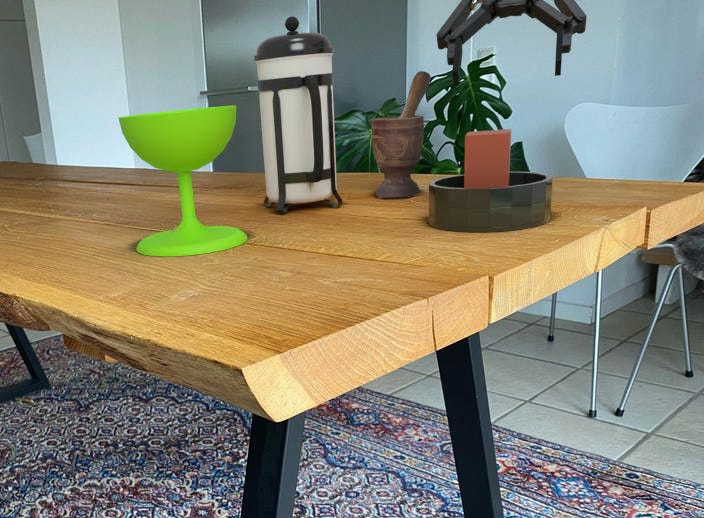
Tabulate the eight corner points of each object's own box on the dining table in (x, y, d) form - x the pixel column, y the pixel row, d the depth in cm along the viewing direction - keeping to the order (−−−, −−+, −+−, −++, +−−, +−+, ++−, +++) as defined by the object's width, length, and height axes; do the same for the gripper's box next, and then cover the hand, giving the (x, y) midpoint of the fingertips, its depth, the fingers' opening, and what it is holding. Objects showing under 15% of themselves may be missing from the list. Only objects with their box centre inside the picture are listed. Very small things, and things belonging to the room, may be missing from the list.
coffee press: (237, 214, 125) (221, 22, 115) (291, 198, 137) (281, 22, 126) (323, 218, 115) (313, 6, 104) (374, 200, 126) (370, 7, 115)
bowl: (544, 208, 105) (546, 168, 103) (554, 230, 91) (557, 185, 89) (432, 213, 110) (432, 175, 108) (426, 234, 96) (425, 191, 94)
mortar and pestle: (390, 189, 136) (389, 74, 130) (436, 188, 132) (437, 69, 125) (365, 199, 128) (362, 76, 121) (413, 199, 123) (413, 71, 116)
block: (508, 211, 102) (511, 128, 98) (506, 218, 97) (510, 132, 94) (466, 212, 104) (468, 131, 101) (463, 219, 100) (464, 135, 96)
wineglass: (242, 228, 113) (231, 104, 107) (253, 248, 98) (241, 106, 92) (138, 239, 112) (121, 115, 106) (133, 261, 97) (114, 119, 91)
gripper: (603, -26, 110) (601, 84, 103) (432, -1, 120) (418, 100, 112) (608, -71, 104) (606, 42, 96) (427, -42, 114) (412, 63, 106)
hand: (505, 73), depth 104 cm, fingers open, 13 cm apart
